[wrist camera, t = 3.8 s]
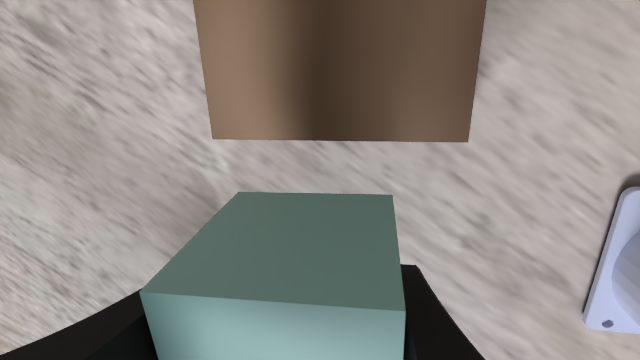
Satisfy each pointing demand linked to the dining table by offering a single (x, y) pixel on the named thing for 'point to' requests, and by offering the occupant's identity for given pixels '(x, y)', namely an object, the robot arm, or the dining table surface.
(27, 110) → the dining table surface
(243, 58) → the walnut base
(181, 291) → the teal cube
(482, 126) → the dining table surface
